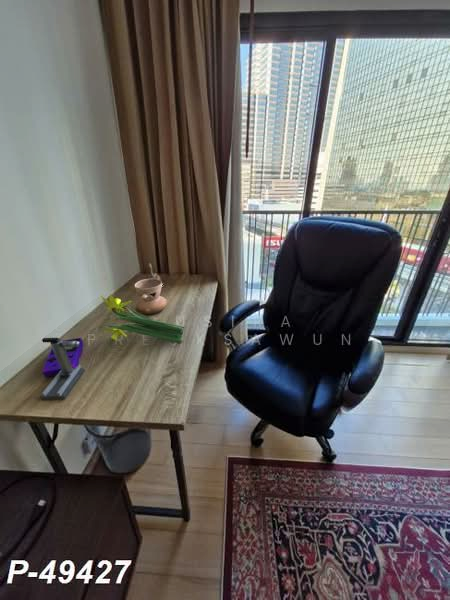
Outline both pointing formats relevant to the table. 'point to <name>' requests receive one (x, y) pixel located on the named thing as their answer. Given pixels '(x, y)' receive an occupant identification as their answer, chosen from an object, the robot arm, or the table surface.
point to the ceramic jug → (150, 296)
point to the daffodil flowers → (146, 327)
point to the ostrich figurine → (152, 274)
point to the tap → (62, 354)
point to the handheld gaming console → (73, 355)
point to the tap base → (62, 385)
